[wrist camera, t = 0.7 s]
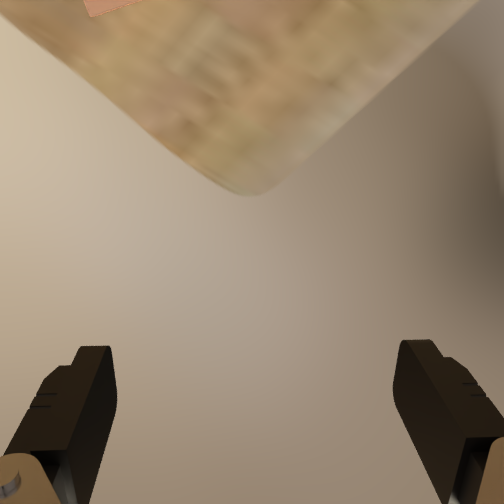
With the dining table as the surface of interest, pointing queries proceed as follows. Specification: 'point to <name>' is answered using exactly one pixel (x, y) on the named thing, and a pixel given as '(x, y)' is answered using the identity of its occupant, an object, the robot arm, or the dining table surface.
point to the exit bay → (105, 5)
